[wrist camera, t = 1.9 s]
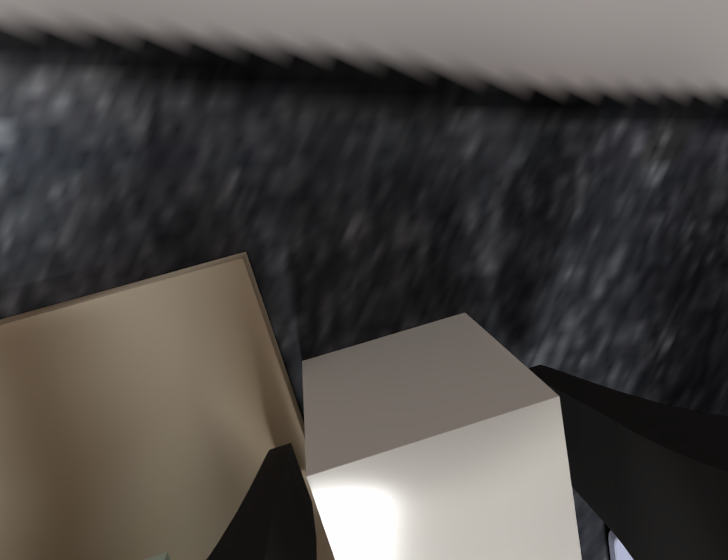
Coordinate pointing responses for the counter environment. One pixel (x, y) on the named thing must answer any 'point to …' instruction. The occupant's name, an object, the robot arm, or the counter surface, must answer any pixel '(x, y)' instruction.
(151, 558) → the trapdoor
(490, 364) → the cream cube
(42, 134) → the counter surface
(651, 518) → the robot arm
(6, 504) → the stand
